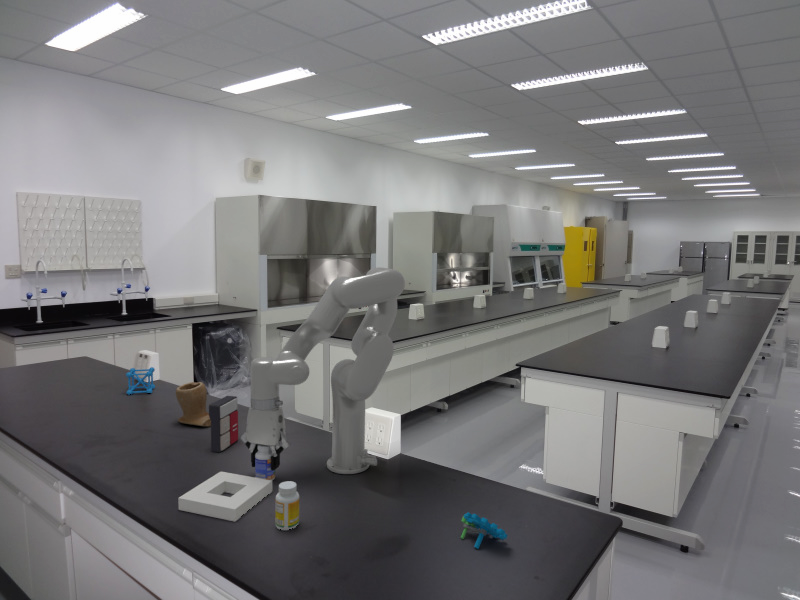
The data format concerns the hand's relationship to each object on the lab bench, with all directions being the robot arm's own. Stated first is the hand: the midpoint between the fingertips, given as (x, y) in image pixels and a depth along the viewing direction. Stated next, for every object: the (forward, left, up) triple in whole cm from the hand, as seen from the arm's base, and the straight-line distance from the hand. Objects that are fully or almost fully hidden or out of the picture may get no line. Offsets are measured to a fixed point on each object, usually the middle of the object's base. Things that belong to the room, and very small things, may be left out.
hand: (265, 466), depth 142 cm
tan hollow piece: (+47, -30, -4) cm, 56 cm away
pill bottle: (0, 0, -4) cm, 4 cm away
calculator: (+25, -16, -4) cm, 30 cm away
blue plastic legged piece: (-62, +10, -4) cm, 63 cm away
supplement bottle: (-18, +19, -4) cm, 26 cm away
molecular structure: (+97, -55, -4) cm, 112 cm away
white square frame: (+2, +14, -4) cm, 15 cm away
